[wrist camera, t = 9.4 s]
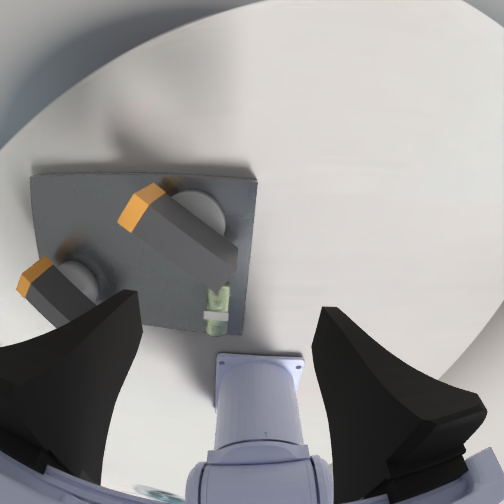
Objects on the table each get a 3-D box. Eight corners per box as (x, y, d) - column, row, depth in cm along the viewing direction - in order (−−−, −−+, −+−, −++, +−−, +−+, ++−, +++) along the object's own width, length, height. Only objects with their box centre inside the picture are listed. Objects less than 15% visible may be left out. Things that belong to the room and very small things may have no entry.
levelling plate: (242, 326, 24) (241, 350, 21) (56, 300, 23) (41, 317, 20) (257, 179, 19) (258, 187, 16) (38, 174, 18) (15, 181, 15)
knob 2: (251, 227, 19) (252, 253, 15) (211, 273, 20) (202, 308, 16) (169, 164, 17) (146, 173, 13) (134, 216, 19) (106, 239, 14)
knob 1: (117, 294, 21) (94, 328, 17) (95, 323, 22) (73, 355, 18) (58, 239, 19) (25, 262, 15) (41, 273, 20) (12, 298, 16)
